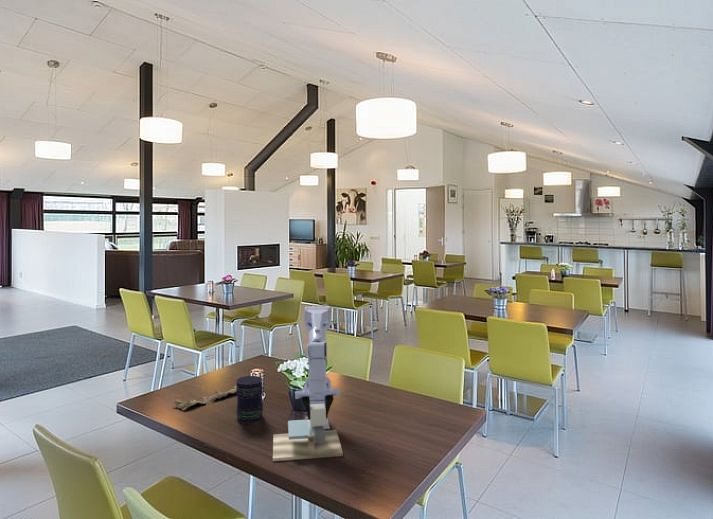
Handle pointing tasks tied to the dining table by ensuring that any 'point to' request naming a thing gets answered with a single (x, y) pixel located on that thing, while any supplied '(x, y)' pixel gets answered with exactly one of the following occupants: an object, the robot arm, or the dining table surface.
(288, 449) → the beige slab
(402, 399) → the dining table surface
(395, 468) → the dining table surface
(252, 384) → the storage jar
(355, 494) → the dining table surface
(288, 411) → the dining table surface
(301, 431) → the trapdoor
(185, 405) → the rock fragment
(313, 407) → the limestone block
